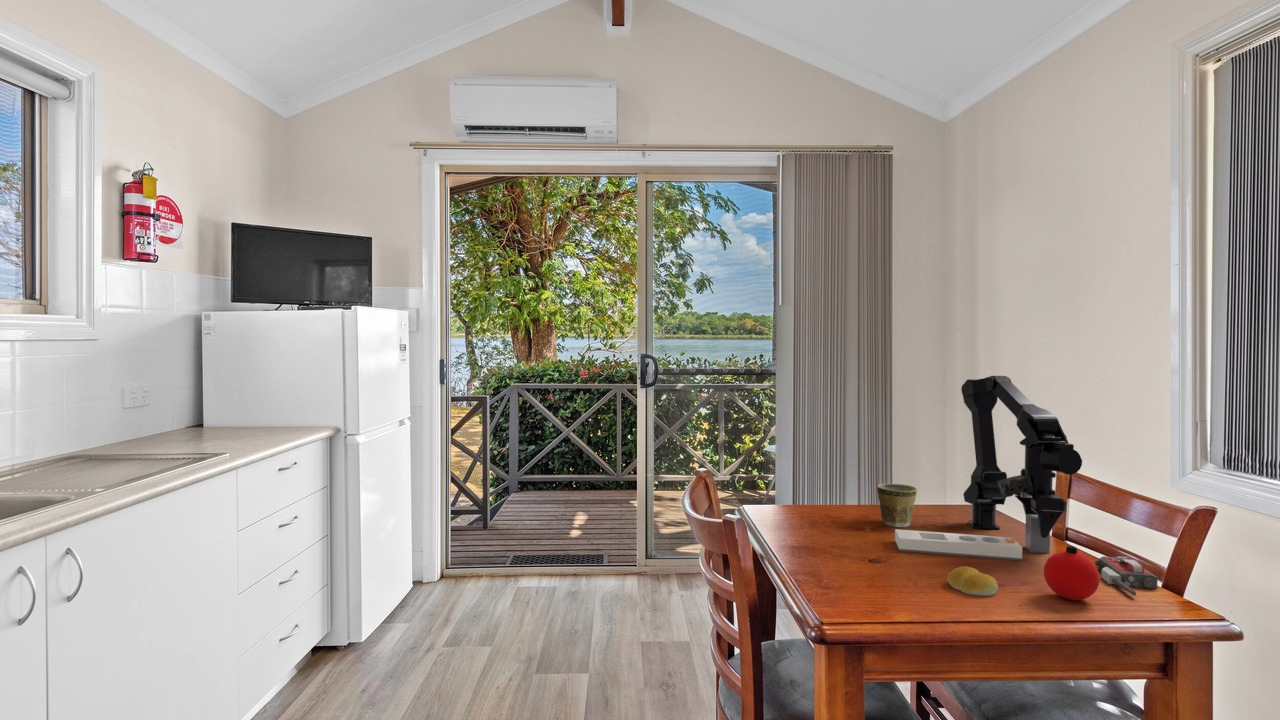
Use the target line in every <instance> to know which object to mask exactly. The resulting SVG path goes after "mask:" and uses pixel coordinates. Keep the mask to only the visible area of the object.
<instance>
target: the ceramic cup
mask: <svg viewBox="0 0 1280 720" xmlns="http://www.w3.org/2000/svg"><path fill="white" fill-rule="evenodd" d="M876 487H877V488H876V490H877V496H878V500H879V507H880V513H881V518H882V519H881V520H882V523H883V524H884V525H886V526H888V527H893V528H906V527H909V526H910V525H911V522H912V521H911V520H912V517H913V511H914V507H915V502H916V498H917V491H918V490H917V489H918V488H917V487H914V486H911V485H907V484H902V483H901V484H900V483H881V484H878V485H877V486H876Z"/></svg>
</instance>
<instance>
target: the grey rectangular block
mask: <svg viewBox="0 0 1280 720" xmlns="http://www.w3.org/2000/svg"><path fill="white" fill-rule="evenodd" d="M1024 535H1025V538H1024V539H1025V540H1024V541H1025V542H1024V543H1025V544H1024V547H1025V549H1027V551H1029V552H1030V553H1040V554H1041V553H1042V554H1050V553H1051V551H1050V548H1051V547H1050V543H1051V532H1050V533H1049V534H1048V536H1047V538H1042V537H1041V534H1040V528H1039V521H1038V515H1035V514H1026V515H1025V533H1024Z"/></svg>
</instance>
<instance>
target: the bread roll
mask: <svg viewBox="0 0 1280 720" xmlns="http://www.w3.org/2000/svg"><path fill="white" fill-rule="evenodd" d="M947 582H948V583H949V586H951V587H952V588H953V589H954V590H955V589H956V590H958V591H960V592H962V593H964V594H967V595H972V596H980V597H989V596H990V597H991V596H994V595H996V594H997V592H998V590H999V587H998V586H999V584H998V582H997V579H995V578H994V577H993V576H992V575H989V574H986V573H982V572H981V571H979V570H978V569H976V568H974V567H970V566H958V567H956V568H954V569H952V570H951V571H950V572H949V573H948V574H947Z"/></svg>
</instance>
